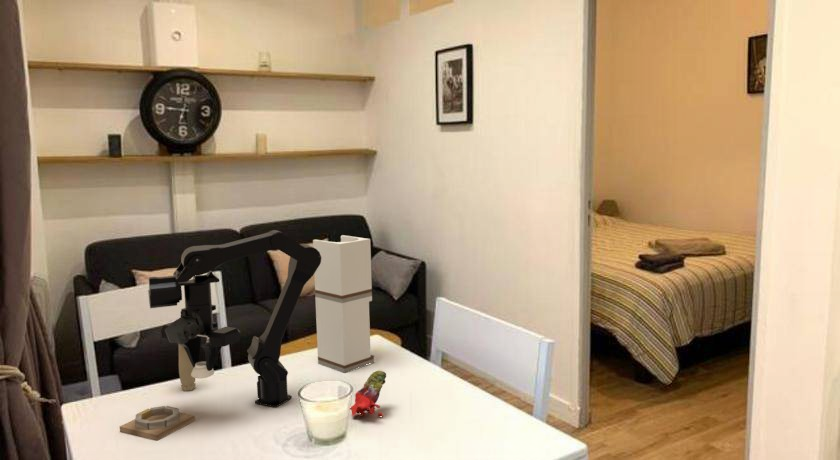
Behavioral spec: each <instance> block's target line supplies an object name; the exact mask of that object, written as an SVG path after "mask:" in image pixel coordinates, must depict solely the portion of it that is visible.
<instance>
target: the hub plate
mask: <svg viewBox="0 0 840 460" xmlns="http://www.w3.org/2000/svg"><path fill="white" fill-rule="evenodd" d="M179 410H180V409H179V408H178V407H175V406H169V405H161V406H153V407H150V408H147V409H144V410H142V411H140V412H138V413H136V414H135V418H134V419H133V420H130V421H128V422H126V423H124V424H122V425H120V426H119V433H120V432H121V433H123V434H124V433H125V434H128V435H132V436H136V437H141V438H144V439H148V440H149V439H150V440H153V441H159V440H161V439H163V438H166V437H167V436H168V435H171V434H172V433H174V432H176V431H178V430H180V429H182V428H184V427H185V426H187V425H189V424H191V423H193V422H194V421H196V416H195V415H194V414H190V413H186V412H180V411H179Z"/></svg>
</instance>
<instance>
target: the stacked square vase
mask: <svg viewBox="0 0 840 460" xmlns="http://www.w3.org/2000/svg"><path fill="white" fill-rule="evenodd" d="M312 245H313V246H312V247H314V248H315V249H317V250H318V251H319V252H320V255H321V263H320V265H319V267H318V268H317V270H316V272H315V273H314V275H313V276H314V293H315V294H314V295H315V319H316V343H317V364H318V365H321V366H324V367H326V368H328V369H332V370H335V371H338V372H341V373H344V374H346V373H348V371H349V372H352V371H354V370H353V369H355V370H357V369H356V368H358V367H361V366H363V367H365V366H364V365H366V364H369V363H372V362H374V363H375V359H374V358H375V355H372V354H371V329H370V328H371V325H370V302H372V301H373V292H372V291H373V286H372V284H373V283H372V256H371V255H372V254H371V253H372V252H371V251H372V250H371V247H372V246H371V238H364V237H358V236H351V235H344V234H342V235H341V236H340V241H337V242H336V241H327V240H321V239H312ZM372 364H373V363H372ZM369 365H370V364H369ZM366 366H367V365H366ZM361 368H362V367H361ZM358 369H359V368H358ZM351 370H352V371H351Z"/></svg>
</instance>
